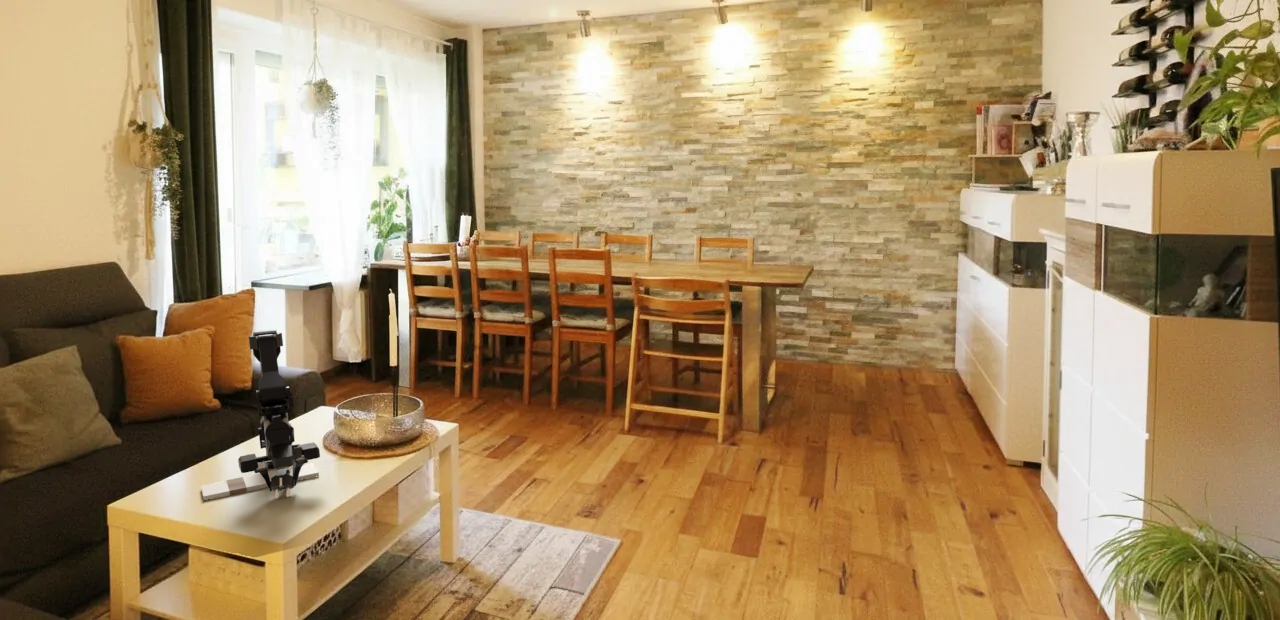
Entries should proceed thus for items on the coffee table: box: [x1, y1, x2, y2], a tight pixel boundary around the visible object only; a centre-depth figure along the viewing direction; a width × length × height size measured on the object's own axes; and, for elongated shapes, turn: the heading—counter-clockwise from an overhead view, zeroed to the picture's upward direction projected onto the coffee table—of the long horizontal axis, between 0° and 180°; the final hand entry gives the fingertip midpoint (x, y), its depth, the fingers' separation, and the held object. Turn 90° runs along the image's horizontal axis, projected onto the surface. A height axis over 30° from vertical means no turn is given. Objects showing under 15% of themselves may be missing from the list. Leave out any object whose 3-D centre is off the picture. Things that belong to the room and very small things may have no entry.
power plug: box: [270, 468, 296, 500], centre depth 202 cm, size 6×8×12 cm
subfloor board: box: [200, 462, 320, 501], centre depth 209 cm, size 8×28×1 cm, turn 123°
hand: (282, 488), depth 201 cm, fingers closed on power plug, 5 cm apart
